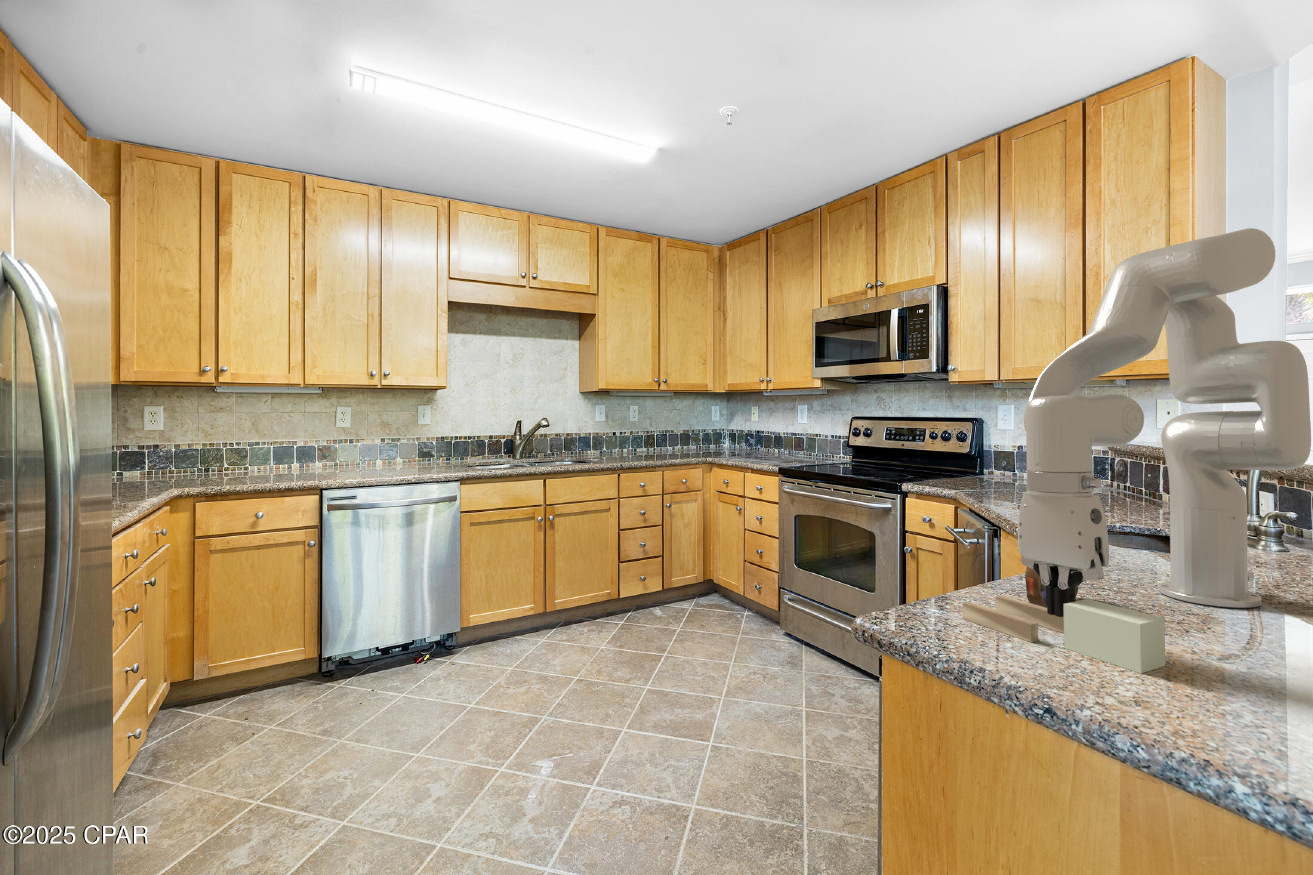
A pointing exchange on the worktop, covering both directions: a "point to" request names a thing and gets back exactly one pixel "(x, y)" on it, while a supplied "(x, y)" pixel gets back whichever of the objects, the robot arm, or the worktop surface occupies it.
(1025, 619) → the chute
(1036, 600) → the tin
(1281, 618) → the worktop surface
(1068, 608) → the block
